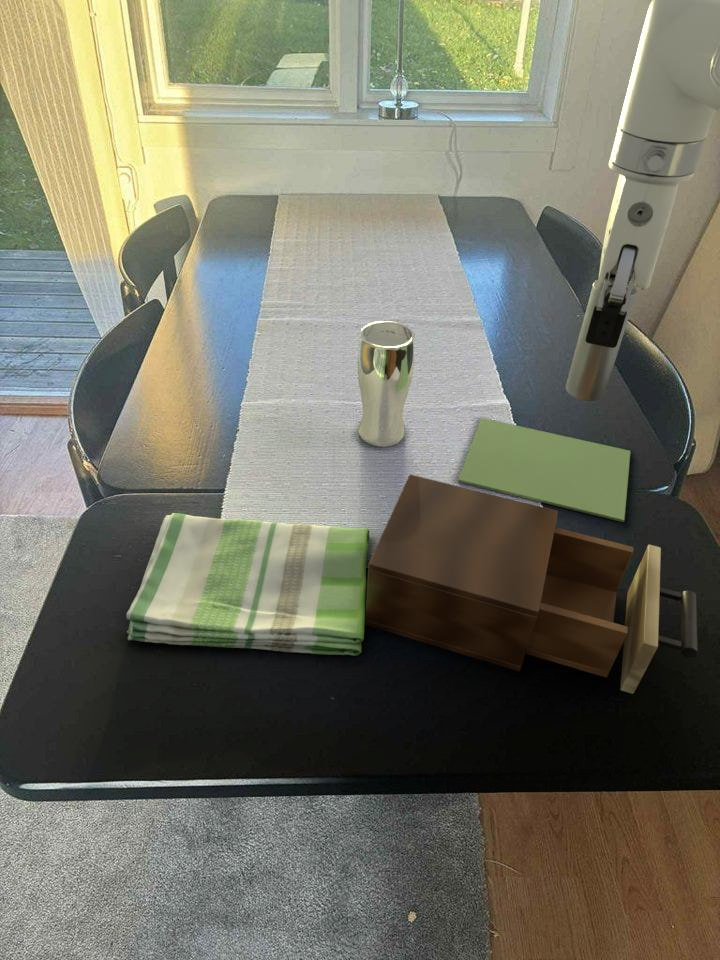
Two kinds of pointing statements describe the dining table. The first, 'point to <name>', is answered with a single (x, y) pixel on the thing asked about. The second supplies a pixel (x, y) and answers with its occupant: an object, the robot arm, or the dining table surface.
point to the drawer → (605, 609)
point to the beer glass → (384, 380)
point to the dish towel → (253, 586)
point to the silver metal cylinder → (594, 355)
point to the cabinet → (461, 571)
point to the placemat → (549, 469)
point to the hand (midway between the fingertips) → (602, 331)
